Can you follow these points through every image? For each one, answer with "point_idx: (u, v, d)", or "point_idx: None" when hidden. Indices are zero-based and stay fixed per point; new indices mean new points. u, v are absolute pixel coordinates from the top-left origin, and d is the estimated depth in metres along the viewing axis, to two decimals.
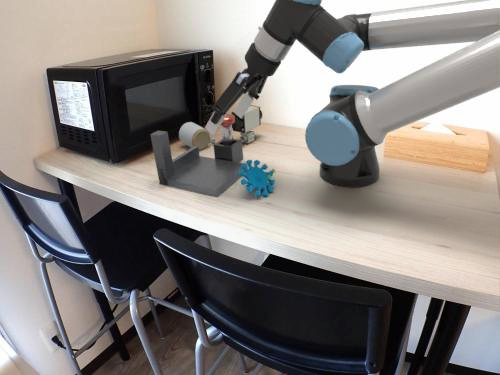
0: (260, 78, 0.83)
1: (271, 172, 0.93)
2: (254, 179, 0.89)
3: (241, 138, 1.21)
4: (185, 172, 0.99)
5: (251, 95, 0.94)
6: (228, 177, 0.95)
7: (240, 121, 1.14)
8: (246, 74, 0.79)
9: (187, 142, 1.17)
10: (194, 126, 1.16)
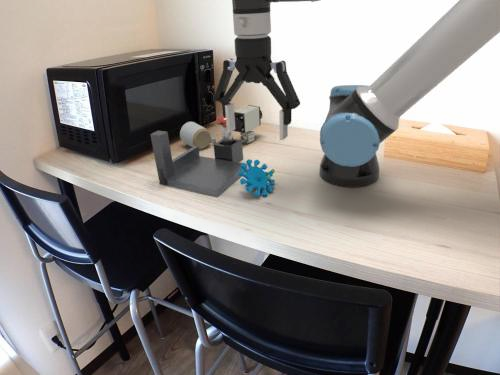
0: None
1: (271, 172, 0.93)
2: (254, 179, 0.89)
3: (241, 138, 1.21)
4: (185, 172, 0.99)
5: (228, 102, 0.85)
6: (228, 177, 0.95)
7: (240, 121, 1.14)
8: (271, 63, 0.76)
9: (188, 142, 1.17)
10: (195, 126, 1.17)
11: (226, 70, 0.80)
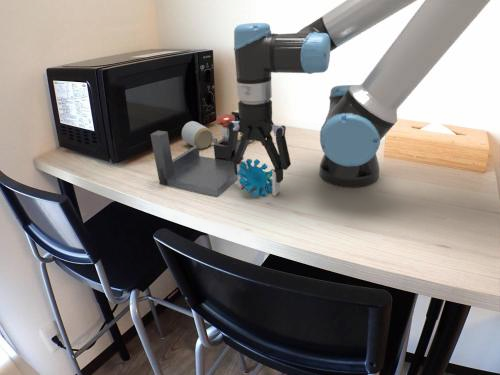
0: None
1: (271, 172, 0.93)
2: (253, 178, 0.89)
3: None
4: (185, 172, 0.99)
5: (240, 160, 0.91)
6: (228, 177, 0.95)
7: None
8: (273, 125, 0.82)
9: (190, 141, 1.17)
10: (197, 125, 1.17)
11: (232, 131, 0.87)
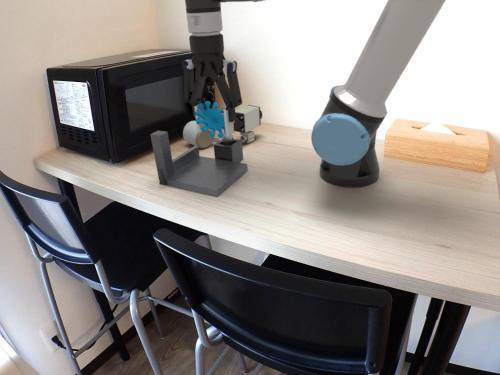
0: None
1: None
2: (210, 120, 0.89)
3: (241, 138, 1.21)
4: (185, 172, 0.99)
5: (198, 102, 0.91)
6: (228, 177, 0.95)
7: (240, 121, 1.14)
8: (224, 60, 0.82)
9: (191, 141, 1.18)
10: None
11: (186, 69, 0.86)
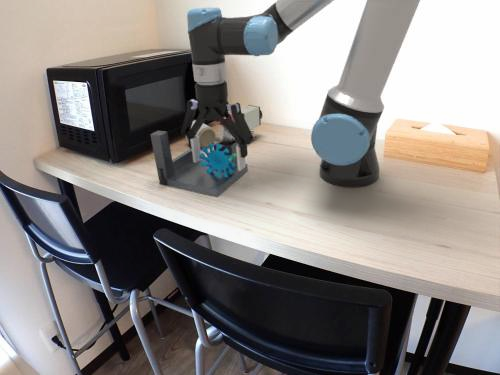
0: None
1: (232, 156, 0.98)
2: (214, 162, 0.94)
3: None
4: (185, 172, 0.99)
5: (194, 135, 0.96)
6: (228, 177, 0.95)
7: None
8: (227, 104, 0.86)
9: None
10: None
11: (190, 109, 0.91)
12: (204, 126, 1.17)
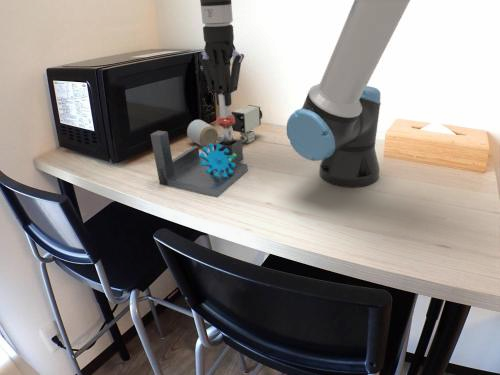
0: None
1: (232, 156, 0.98)
2: (214, 161, 0.94)
3: (241, 138, 1.21)
4: (185, 172, 0.99)
5: (221, 90, 1.00)
6: (228, 177, 0.95)
7: (240, 121, 1.14)
8: (234, 51, 0.92)
9: (195, 139, 1.18)
10: (202, 123, 1.18)
11: (203, 60, 0.96)
12: (206, 125, 1.17)
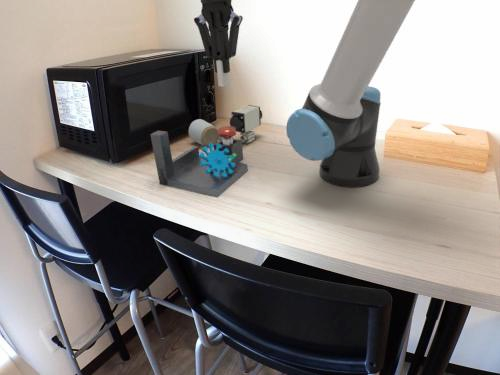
0: None
1: (232, 156, 0.98)
2: (214, 161, 0.94)
3: (241, 138, 1.21)
4: (185, 172, 0.99)
5: (219, 56, 0.95)
6: (228, 177, 0.95)
7: (240, 121, 1.14)
8: (232, 12, 0.88)
9: (196, 139, 1.19)
10: (203, 123, 1.19)
11: (199, 24, 0.92)
12: (208, 125, 1.17)
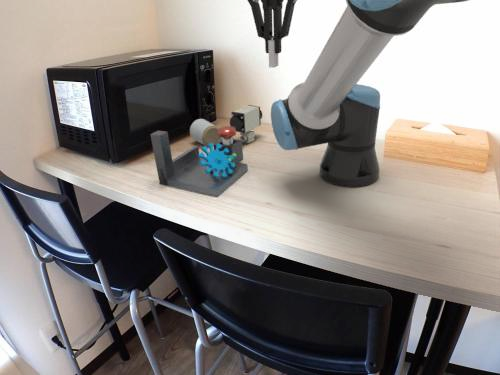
0: None
1: (232, 156, 0.98)
2: (213, 161, 0.94)
3: (241, 138, 1.21)
4: (185, 172, 0.99)
5: (271, 36, 0.93)
6: (228, 177, 0.95)
7: (240, 121, 1.14)
8: None
9: (198, 138, 1.19)
10: (205, 123, 1.19)
11: (253, 3, 0.90)
12: (209, 124, 1.18)
